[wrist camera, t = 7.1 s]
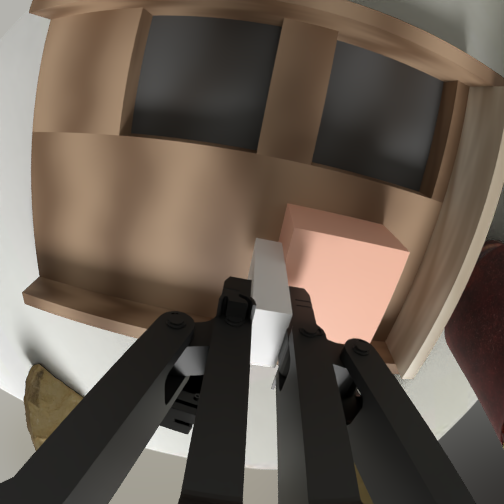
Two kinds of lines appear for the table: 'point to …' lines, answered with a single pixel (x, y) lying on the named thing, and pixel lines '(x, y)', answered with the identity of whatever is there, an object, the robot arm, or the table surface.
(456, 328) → the vase
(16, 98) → the table surface
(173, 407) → the black piece
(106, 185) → the box
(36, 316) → the table surface
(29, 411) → the rock
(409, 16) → the table surface
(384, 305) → the block
